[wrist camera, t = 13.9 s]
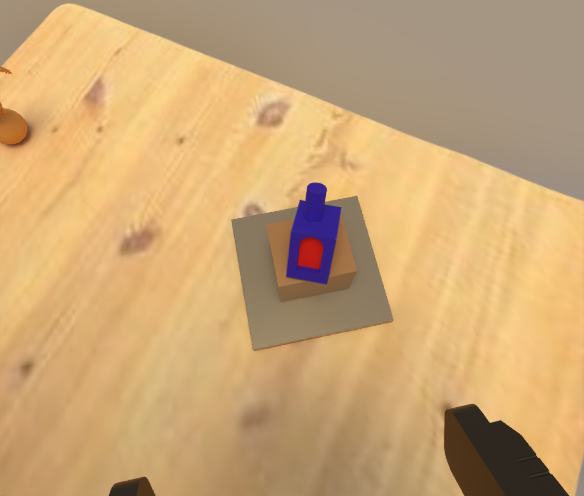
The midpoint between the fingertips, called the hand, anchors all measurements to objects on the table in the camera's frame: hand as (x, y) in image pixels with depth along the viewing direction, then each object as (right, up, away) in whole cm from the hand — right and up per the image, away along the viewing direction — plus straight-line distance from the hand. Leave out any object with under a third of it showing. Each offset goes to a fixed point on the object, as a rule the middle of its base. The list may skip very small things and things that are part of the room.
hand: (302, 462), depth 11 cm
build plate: (+1, +3, +32) cm, 32 cm away
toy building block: (+2, +6, +25) cm, 26 cm away
